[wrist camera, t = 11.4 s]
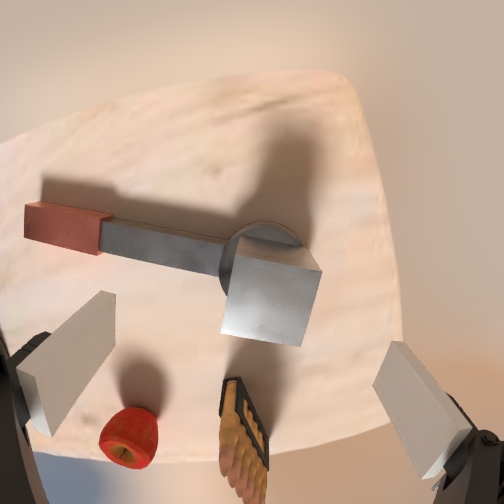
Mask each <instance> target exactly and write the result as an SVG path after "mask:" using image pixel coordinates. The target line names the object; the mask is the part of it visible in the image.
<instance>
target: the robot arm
mask: <svg viewBox="0 0 504 504" xmlns="http://www.w3.org/2000/svg"><path fill="white" fill-rule="evenodd" d="M115 306H116V294H113V293H109V292H105V291H100V292H99V293H98V294H97V295H95V296H94V297H93V298H92V299H91V300H89V301H88V302H87V303H86V304H85V305H84V306H83V307H81V308H80V309H79V310H78V311H77V312H76V313H75V314H73V315H72V316H71V317H70V318H69V319H68V320H67V321H65V322H64V323H63V324H62V325H61V326H60V327H59V328H58V329H57V330H55V331H54V332H53V333H52V334H51V333H48V332H46V331H45V332H43V333H40V334H38V335H35V336H34V337H33V338H32V339H30V340H29V341H28V342H27V344H25V345H24V346H23V347H21V349H19V350H18V351H17V352H16V353H15V354H14V355H12V356H11V357H10V358H9V356H8V353H7V351H6V348H5V346H4V344H3V342H2V340H1V338H0V504H49V502H48V500H47V497H46V494H45V491H44V488H43V485H42V482H41V479H40V476H39V473H38V470H37V466H36V463H35V460H34V456H33V452H32V448H31V444H30V440H29V436H28V431H27V428H26V426H25V424H26V423H27V422H28V420H29V419H30V418H31V421H32V424H33V427H34V429H35V430H37V431H39V432H41V433H43V434H45V435H48V436H50V437H53V435H54V434H55V432H56V430H57V429H58V427H59V426H60V424H61V423H62V421H63V420H64V418H65V417H66V415H67V414H68V412H69V411H70V409H71V408H72V406H73V405H74V403H75V402H76V400H77V399H78V397H79V396H80V395H81V393H82V392H83V390H84V389H85V387H86V386H87V384H88V383H89V382H90V380H91V379H92V377H93V376H94V374H95V373H96V372H97V370H98V369H99V367H100V366H101V364H102V363H103V362H104V360H105V359H106V358H107V356H108V355H109V353H110V352H111V351H112V349H113V348H114V346H115ZM372 386H373V388H374V389H375V391H376V393H377V395H378V397H379V399H380V401H381V403H382V405H383V407H384V408H385V410H386V412H387V414H388V416H389V418H390V420H391V422H392V424H393V426H394V428H395V429H396V431H397V434H398V435H399V437H400V439H401V441H402V443H403V445H404V447H405V449H406V451H407V453H408V455H409V457H410V460H411V461H412V463H413V466H414V468H415V470H416V471H417V474H418V476H419V478H420V480H422V479H426V478H431V477H435V476H436V475H437V473H438V472H439V471H440V470H441V469H442V468H443V467H444V469H445V471H446V473H445V474H444V475H443V476H442V477H441V479H440V480H439V481H438V482H437V483H436V484H435V485H434V487H433V488H432V490H434V489H435V488H436V487H438V486H439V488H438V490H437V494H436V497H435V500H434V503H433V504H504V441H500V440H499V438H498V437H497V436H496V435H495V434H494V433H492V432H490V431H488V430H480V431H479V430H478V429H477V428H476V426H475V425H474V424H473V422H472V421H471V420H470V418H469V417H468V416H467V415H466V413H465V412H463V409H462V408H461V407H459V404H458V403H457V402H456V401H455V399H454V398H453V397H452V396H450V395H449V394H448V393H446V392H445V391H444V390H443V389H442V388H441V386H440V385H439V384H438V383H437V381H436V380H435V379H434V377H433V376H432V375H431V374H430V373H429V372H428V370H427V369H426V368H425V366H424V365H423V364H422V363H421V362H420V360H419V359H418V358H417V357H416V355H415V354H414V353H413V352H412V351H411V350H410V348H409V347H408V346H407V345H406V344H405V342H399V341H392V342H391V344H390V347H389V349H388V351H387V354H386V356H385V359H384V361H383V363H382V365H381V368H380V370H379V372H378V374H377V377H376V379H375V381H374V383H373V385H372Z"/></svg>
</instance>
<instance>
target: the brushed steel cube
mask: <svg viewBox="0 0 504 504" xmlns="http://www.w3.org/2000/svg"><path fill="white" fill-rule="evenodd" d="M321 275H322V270H321V269H320V267H319V266H318V264H317V263H316V261H315V260H314V258H313V257H312V255H311V254H310V252H309V251H308V249H307V248H305V247H301V246H296V245H291V244H286V243H281V242H276V241H271V240H266V239H261V238H256V237H251V236H246V235H241V236H240V240H239V243H238V247H237V250H236V254H235V258H234V263H233V269H232V274H231V279H230V285H229V290H228V295H227V301H226V306H225V312H224V317H223V323H222V328H221V333H223V334H228V335H233V336H238V337H244V338H249V339H255V340H261V341H266V342H273V343H279V344H285V345H292V346H298V347H301V344H302V341H303V337H304V334H305V331H306V328H307V324H308V321H309V317H310V314H311V311H312V307H313V304H314V300H315V297H316V293H317V289H318V286H319V282H320V278H321Z"/></svg>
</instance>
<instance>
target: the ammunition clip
mask: <svg viewBox="0 0 504 504" xmlns="http://www.w3.org/2000/svg"><path fill="white" fill-rule="evenodd" d="M219 416H220V418H221V424H220V431H219V441H220V447H219V450H220V451H219V466H220V471H221V474H222V476H223V477H226V476H227V477H228V482H229V484H230V486H231V487H232V488H234V487H235V490H236V493H237V495H238V497H239V498H240V497H242V499H243V502H244V504H265V496H266V489H267V471H269V440H268V437H267V435H266V433H265V431H264V429H263V427H262V424H261V422H260V420H259V418H258V416H257V413H256V411H255V409H254V407H253V405H252V402H251V400H250V398H249V396H248V393H247V391H246V389H245V386H244V384H243V382H242V379H241V377H236V378H231V379H227V380H223V385H222V392H221V400H220V407H219Z"/></svg>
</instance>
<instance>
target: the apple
mask: <svg viewBox="0 0 504 504" xmlns="http://www.w3.org/2000/svg"><path fill="white" fill-rule="evenodd" d="M99 446H100V449H101V450H102V451H103V453H104V454H105V455H106V456H107V457H108V458H109V459H110V460H112V461H113V462H114V463H117V464H120V465H122V466H125V467H128V468H132V469H142V468H145V467H147V466H148V465H149V464H150V462H151V461H152V460H153V458H154V455H155V453H156V450H157V446H158V425H157V421H156V418H155V416H154V415H153V414H152V413H151V412H150V411H148V410H146V409H142V408H138V407H128V408H125V409H123V410H121V411H120V412H118V413H117V414H115V415H114V416H113V417H112V418H111V419H110V421H109V422H108V423H107V424H106V426H105V427H104V428H103V430H102V432H101V435H100V439H99Z"/></svg>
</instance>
